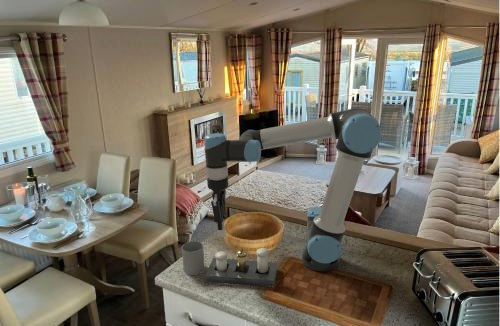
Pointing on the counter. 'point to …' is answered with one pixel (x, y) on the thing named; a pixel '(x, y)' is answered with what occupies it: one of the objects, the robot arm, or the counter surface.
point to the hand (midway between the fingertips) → (221, 236)
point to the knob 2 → (262, 260)
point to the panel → (242, 274)
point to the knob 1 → (221, 261)
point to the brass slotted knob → (241, 259)
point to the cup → (193, 257)
